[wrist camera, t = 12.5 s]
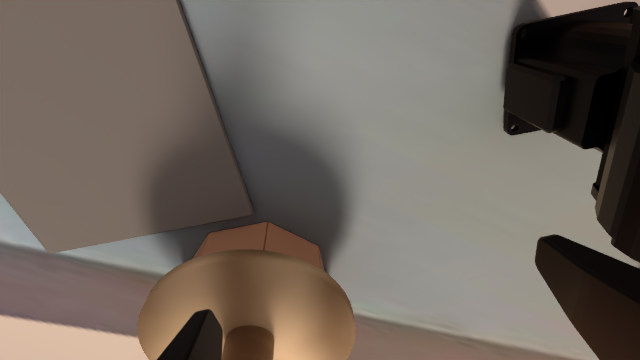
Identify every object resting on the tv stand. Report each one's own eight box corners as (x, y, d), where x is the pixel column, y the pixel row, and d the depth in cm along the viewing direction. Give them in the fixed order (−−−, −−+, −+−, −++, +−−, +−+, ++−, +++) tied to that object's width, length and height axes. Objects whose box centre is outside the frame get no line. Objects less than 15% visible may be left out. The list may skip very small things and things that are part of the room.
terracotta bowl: (310, 213, 23) (312, 256, 19) (334, 310, 29) (340, 360, 25) (167, 240, 24) (141, 288, 20) (217, 331, 29) (204, 383, 25)
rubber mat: (164, -40, 16) (160, -41, 15) (253, 210, 23) (252, 214, 23) (-121, 25, 16) (-133, 26, 16) (53, 249, 24) (49, 253, 23)
